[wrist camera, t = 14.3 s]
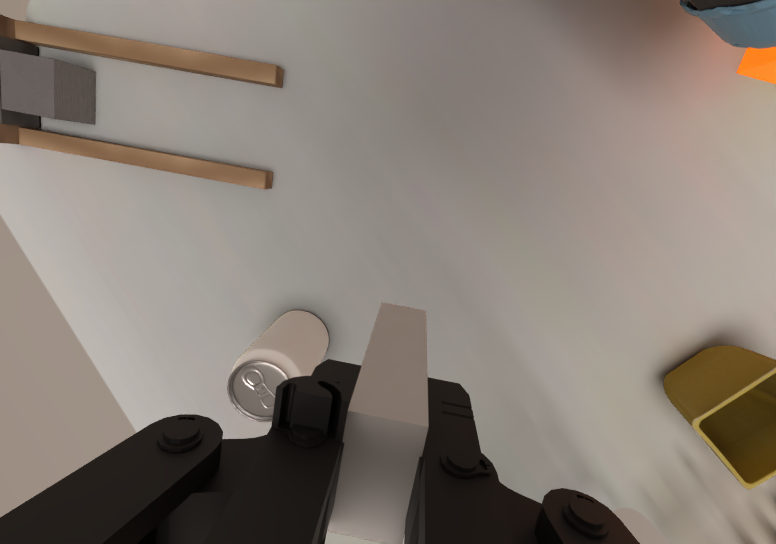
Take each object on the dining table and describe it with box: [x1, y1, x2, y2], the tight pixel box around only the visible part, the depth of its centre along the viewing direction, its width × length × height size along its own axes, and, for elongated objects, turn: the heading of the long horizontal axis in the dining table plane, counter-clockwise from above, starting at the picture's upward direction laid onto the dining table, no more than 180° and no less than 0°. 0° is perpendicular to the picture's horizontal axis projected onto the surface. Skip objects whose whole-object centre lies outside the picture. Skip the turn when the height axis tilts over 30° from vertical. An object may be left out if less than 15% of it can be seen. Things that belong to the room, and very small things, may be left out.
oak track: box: [0, 15, 284, 189], centre depth 40 cm, size 11×27×5 cm, turn 80°
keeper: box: [0, 49, 96, 125], centre depth 40 cm, size 5×5×5 cm
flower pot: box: [664, 346, 776, 490], centre depth 40 cm, size 9×9×9 cm
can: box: [227, 310, 329, 422], centre depth 41 cm, size 6×6×12 cm
